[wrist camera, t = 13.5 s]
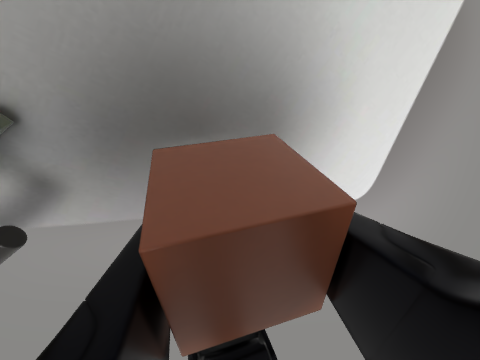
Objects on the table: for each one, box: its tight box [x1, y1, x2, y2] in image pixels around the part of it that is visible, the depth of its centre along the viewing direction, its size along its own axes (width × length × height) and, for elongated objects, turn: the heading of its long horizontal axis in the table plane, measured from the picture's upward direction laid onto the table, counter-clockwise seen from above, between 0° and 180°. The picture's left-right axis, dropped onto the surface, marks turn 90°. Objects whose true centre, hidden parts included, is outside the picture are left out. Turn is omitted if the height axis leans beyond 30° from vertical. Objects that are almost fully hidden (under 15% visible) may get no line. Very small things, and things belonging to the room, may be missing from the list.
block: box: [139, 134, 357, 356], centre depth 7 cm, size 4×4×4 cm
